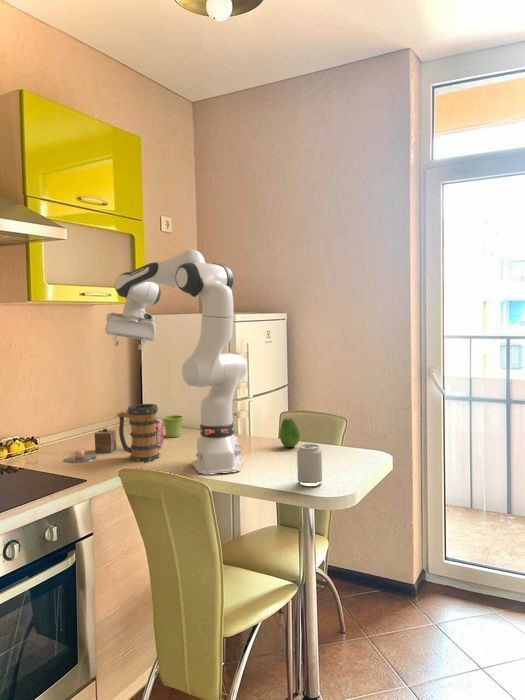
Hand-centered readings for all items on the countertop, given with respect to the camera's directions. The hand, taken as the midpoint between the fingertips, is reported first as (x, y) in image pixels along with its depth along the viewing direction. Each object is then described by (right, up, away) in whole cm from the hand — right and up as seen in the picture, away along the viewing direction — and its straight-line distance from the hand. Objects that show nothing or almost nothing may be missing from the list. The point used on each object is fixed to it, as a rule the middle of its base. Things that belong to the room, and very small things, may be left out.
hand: (128, 347), depth 226 cm
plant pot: (+15, -40, +22) cm, 48 cm away
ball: (-14, -42, -17) cm, 47 cm away
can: (+69, -43, -56) cm, 99 cm away
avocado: (+66, -40, -7) cm, 77 cm away
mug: (+8, -42, -17) cm, 46 cm away
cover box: (-8, -41, -5) cm, 42 cm away
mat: (-8, -42, -5) cm, 43 cm away
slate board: (-14, -43, -17) cm, 48 cm away
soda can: (+11, -41, -1) cm, 43 cm away
